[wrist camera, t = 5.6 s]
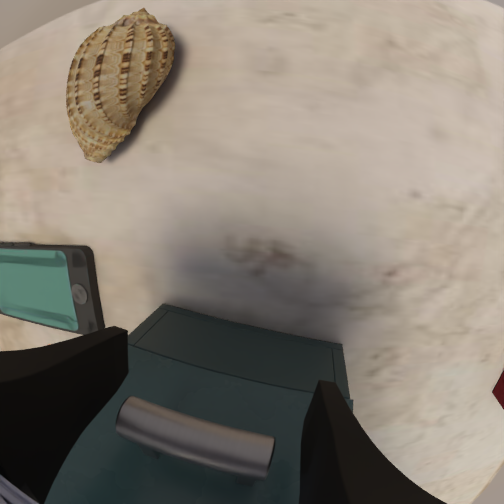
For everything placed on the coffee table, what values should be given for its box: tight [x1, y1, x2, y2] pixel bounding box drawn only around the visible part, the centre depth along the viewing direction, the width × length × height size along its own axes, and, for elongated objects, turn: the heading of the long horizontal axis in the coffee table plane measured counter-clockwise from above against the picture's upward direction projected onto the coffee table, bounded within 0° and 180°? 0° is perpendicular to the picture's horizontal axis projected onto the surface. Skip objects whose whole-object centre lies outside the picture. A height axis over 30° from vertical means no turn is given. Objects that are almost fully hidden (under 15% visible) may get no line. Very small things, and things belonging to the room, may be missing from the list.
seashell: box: [66, 8, 175, 163], centre depth 17 cm, size 8×6×10 cm
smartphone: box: [0, 243, 105, 335], centre depth 23 cm, size 7×1×15 cm
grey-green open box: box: [128, 304, 350, 399], centre depth 20 cm, size 14×13×6 cm
